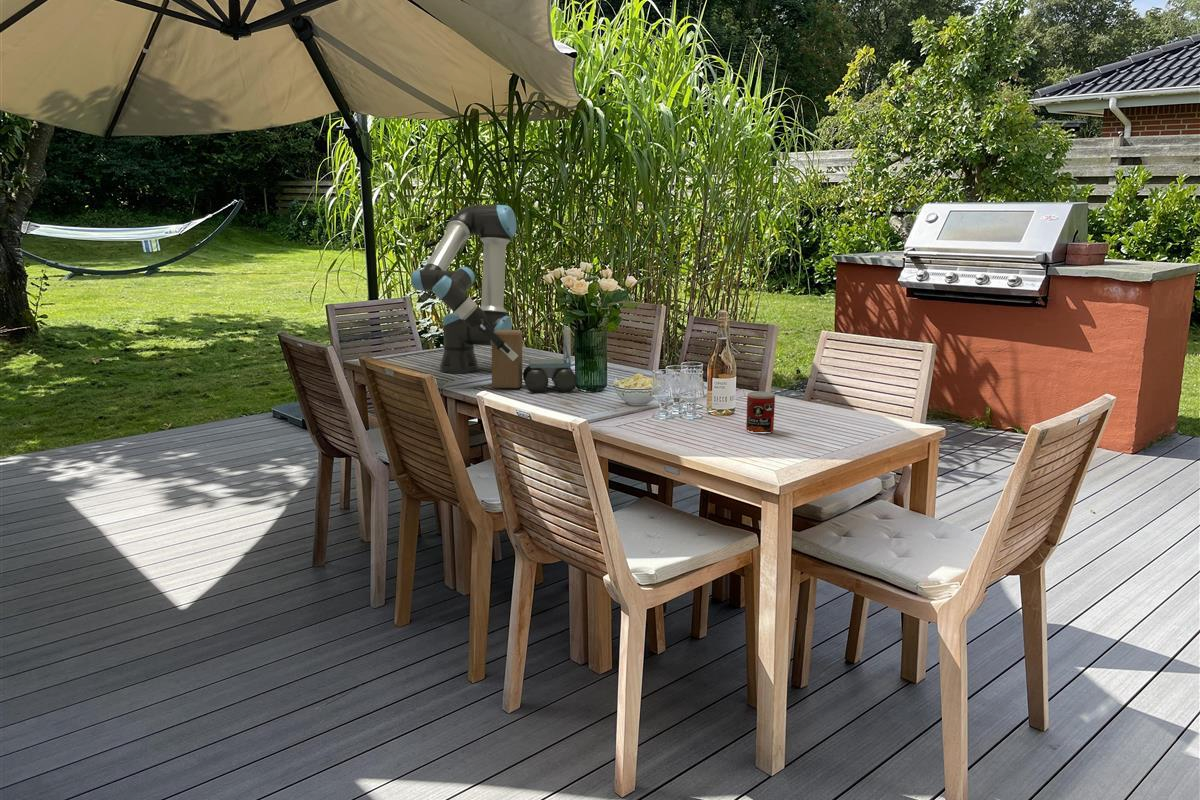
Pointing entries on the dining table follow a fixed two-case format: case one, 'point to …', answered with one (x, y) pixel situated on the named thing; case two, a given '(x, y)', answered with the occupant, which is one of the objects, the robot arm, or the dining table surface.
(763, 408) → the canned food
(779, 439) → the dining table surface
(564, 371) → the trolley
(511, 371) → the wooden block
